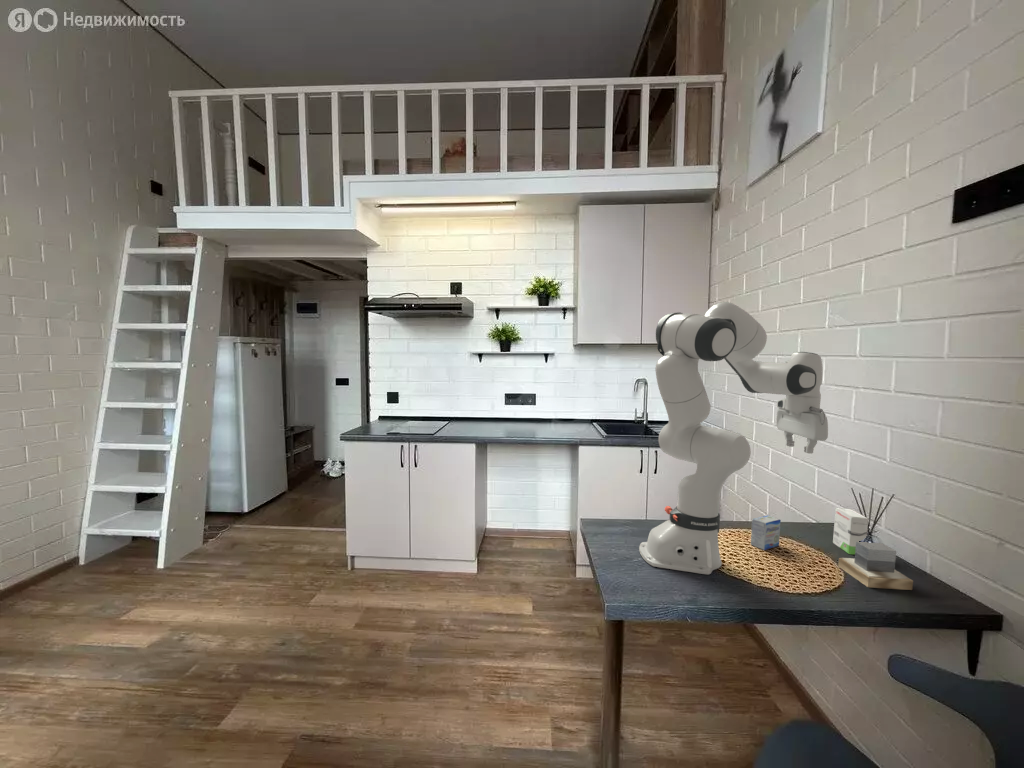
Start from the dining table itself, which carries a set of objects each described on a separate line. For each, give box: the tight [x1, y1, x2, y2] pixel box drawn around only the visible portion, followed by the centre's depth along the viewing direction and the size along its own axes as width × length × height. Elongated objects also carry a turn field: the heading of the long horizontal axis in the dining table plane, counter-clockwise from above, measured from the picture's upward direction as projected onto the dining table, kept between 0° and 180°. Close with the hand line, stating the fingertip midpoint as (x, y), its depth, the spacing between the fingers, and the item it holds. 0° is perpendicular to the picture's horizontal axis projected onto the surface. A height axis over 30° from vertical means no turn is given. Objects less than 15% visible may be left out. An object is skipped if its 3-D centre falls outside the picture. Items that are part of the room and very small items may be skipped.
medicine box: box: [750, 515, 782, 551], centre depth 133 cm, size 8×4×9 cm, turn 117°
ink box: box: [832, 507, 869, 556], centre depth 133 cm, size 9×5×12 cm, turn 171°
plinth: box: [837, 557, 914, 591], centre depth 115 cm, size 11×11×3 cm
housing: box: [854, 542, 897, 573], centre depth 115 cm, size 4×7×6 cm, turn 86°
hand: (798, 449), depth 131 cm, fingers open, 8 cm apart
